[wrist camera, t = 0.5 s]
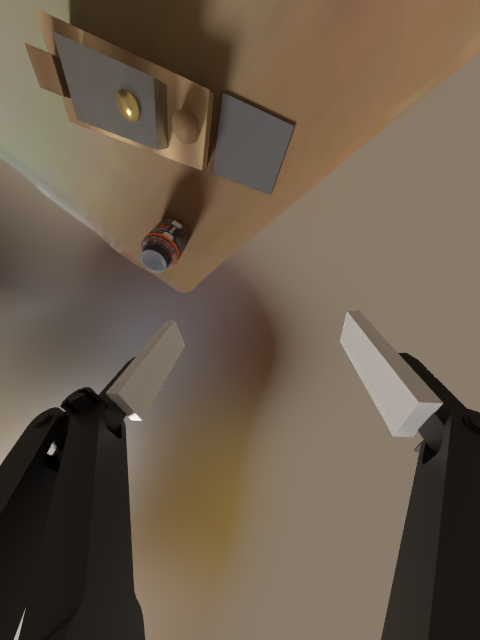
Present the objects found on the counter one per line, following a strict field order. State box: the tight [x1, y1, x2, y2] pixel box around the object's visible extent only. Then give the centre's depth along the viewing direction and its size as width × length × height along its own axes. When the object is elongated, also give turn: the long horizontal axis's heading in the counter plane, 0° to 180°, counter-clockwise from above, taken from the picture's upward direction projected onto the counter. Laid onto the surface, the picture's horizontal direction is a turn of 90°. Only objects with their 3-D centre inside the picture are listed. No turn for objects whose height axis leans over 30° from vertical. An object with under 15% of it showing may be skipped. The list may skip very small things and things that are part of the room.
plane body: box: [25, 9, 214, 170], centre depth 20 cm, size 16×7×8 cm, turn 74°
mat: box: [212, 93, 294, 195], centre depth 25 cm, size 8×10×1 cm
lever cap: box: [53, 32, 168, 150], centre depth 18 cm, size 5×8×4 cm, turn 74°
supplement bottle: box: [140, 218, 188, 273], centre depth 30 cm, size 6×6×11 cm
